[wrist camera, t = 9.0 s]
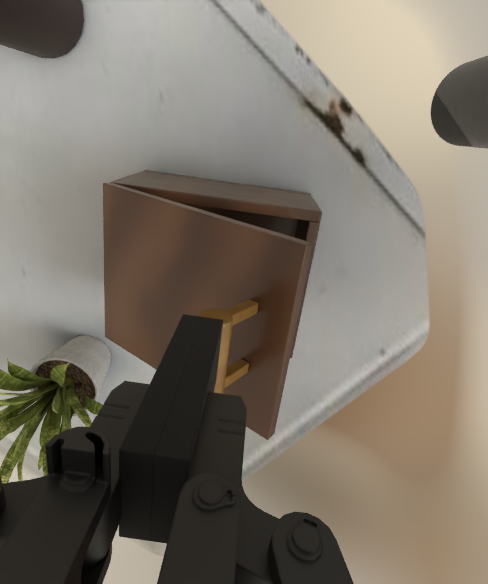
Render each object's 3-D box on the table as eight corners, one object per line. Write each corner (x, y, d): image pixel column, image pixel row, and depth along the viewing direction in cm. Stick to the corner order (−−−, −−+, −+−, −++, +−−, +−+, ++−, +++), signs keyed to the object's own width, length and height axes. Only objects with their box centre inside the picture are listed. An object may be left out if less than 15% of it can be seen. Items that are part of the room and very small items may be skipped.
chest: (310, 193, 36) (322, 212, 28) (287, 313, 41) (291, 358, 33) (145, 170, 36) (109, 181, 28) (141, 292, 41) (110, 332, 33)
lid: (313, 242, 20) (256, 261, 16) (274, 433, 25) (223, 484, 21) (112, 182, 28) (42, 184, 24) (112, 333, 33) (54, 356, 29)
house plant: (-5, 351, 45) (-142, 461, 30) (56, 269, 41) (-69, 352, 26) (95, 420, 48) (17, 551, 33) (162, 351, 44) (107, 467, 29)
